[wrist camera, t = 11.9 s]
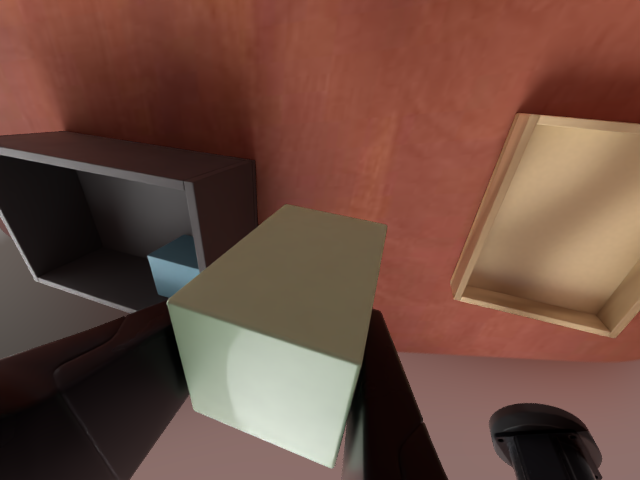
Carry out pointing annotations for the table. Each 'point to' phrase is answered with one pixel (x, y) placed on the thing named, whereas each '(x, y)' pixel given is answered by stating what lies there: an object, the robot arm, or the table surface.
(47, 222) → the dark grey open box
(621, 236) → the wooden tray
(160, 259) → the teal block
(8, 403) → the robot arm
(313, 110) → the table surface
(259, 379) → the sage block
